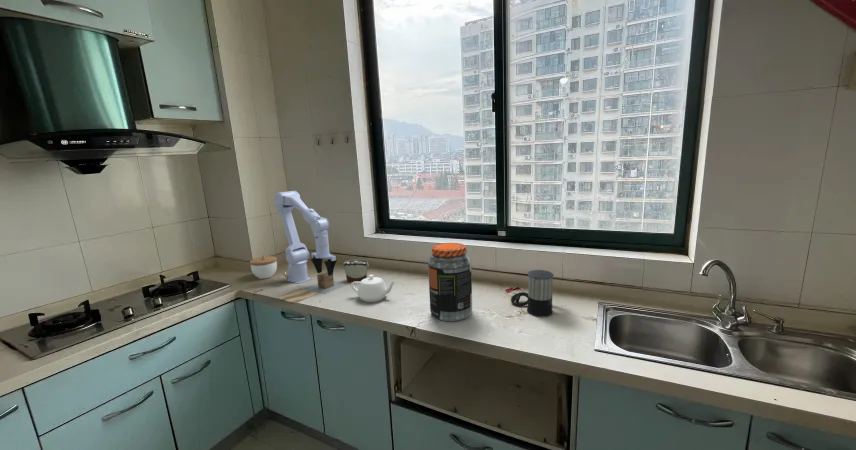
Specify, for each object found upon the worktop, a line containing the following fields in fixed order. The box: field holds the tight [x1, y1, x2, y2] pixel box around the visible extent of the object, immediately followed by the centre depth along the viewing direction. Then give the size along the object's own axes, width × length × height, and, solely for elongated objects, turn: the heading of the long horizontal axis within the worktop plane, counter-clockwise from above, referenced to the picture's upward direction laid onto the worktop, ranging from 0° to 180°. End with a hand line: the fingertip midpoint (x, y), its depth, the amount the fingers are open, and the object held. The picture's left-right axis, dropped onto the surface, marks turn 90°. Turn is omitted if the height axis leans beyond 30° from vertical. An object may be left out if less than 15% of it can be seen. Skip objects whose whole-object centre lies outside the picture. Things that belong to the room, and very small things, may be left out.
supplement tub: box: [427, 242, 473, 322], centre depth 133 cm, size 16×16×26 cm
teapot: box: [350, 274, 396, 303], centre depth 152 cm, size 20×12×10 cm, turn 76°
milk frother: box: [510, 269, 554, 317], centre depth 136 cm, size 14×16×15 cm
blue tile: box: [304, 281, 348, 295], centre depth 168 cm, size 14×14×1 cm
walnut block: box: [316, 271, 334, 289], centre depth 168 cm, size 5×5×6 cm
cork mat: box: [277, 288, 319, 305], centre depth 158 cm, size 12×12×1 cm
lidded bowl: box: [249, 255, 278, 280], centre depth 186 cm, size 13×13×11 cm
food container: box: [342, 258, 369, 283], centre depth 175 cm, size 12×6×10 cm, turn 84°
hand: (325, 273), depth 167 cm, fingers open, 7 cm apart
